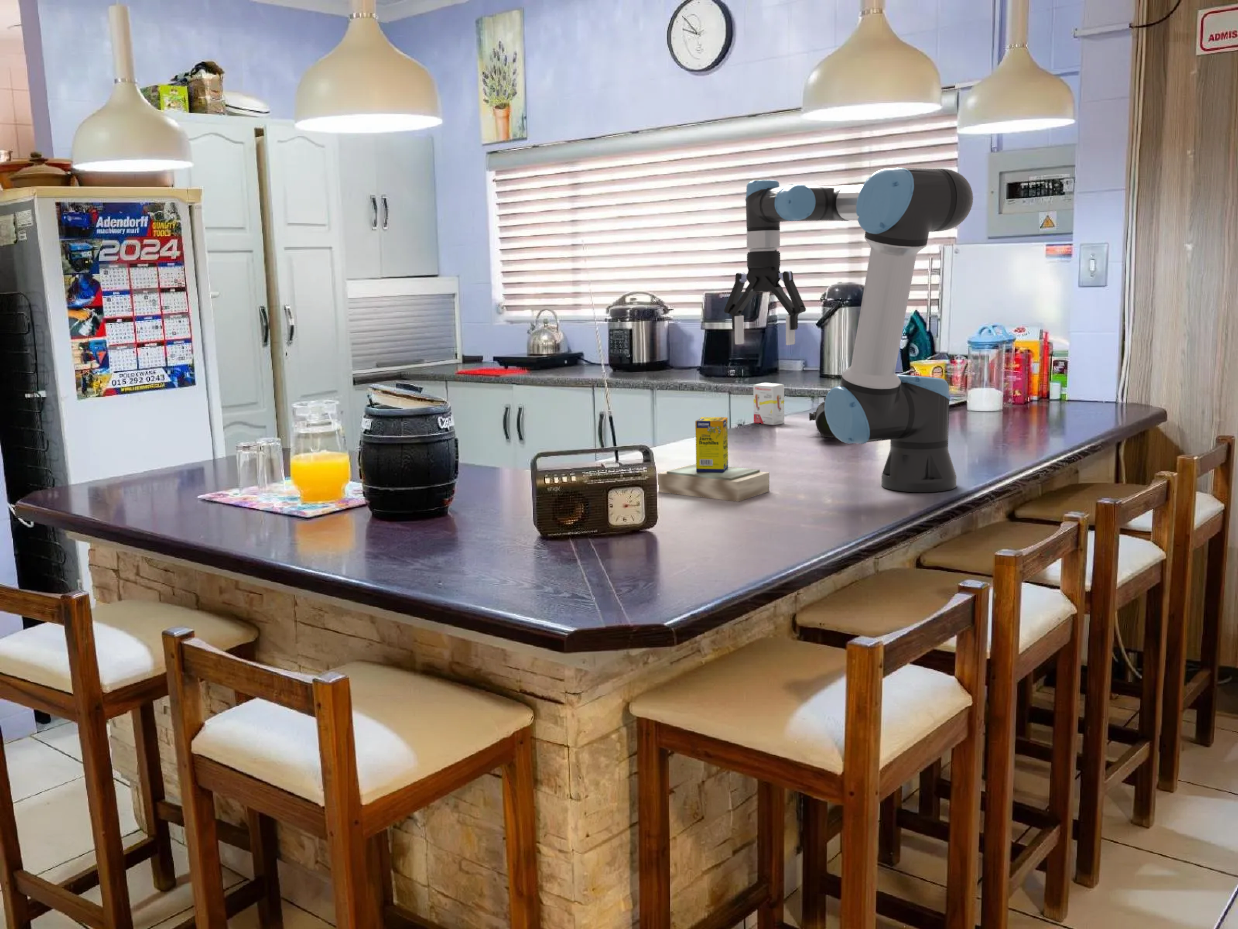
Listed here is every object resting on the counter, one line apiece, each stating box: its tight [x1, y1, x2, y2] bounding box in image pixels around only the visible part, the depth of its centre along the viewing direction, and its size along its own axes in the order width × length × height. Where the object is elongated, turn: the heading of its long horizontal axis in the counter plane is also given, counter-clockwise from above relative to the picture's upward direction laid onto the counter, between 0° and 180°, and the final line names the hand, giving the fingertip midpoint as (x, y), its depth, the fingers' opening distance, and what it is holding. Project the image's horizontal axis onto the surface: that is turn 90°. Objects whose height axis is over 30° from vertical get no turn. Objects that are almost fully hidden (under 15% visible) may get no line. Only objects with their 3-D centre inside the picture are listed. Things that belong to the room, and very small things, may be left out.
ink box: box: [752, 382, 785, 426], centre depth 334 cm, size 9×5×12 cm, turn 39°
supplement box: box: [695, 416, 729, 473], centre depth 233 cm, size 6×6×11 cm
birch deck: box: [657, 463, 770, 502], centre depth 234 cm, size 20×12×4 cm, turn 51°
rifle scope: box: [808, 396, 837, 439], centre depth 307 cm, size 10×26×10 cm, turn 172°
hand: (764, 344), depth 257 cm, fingers open, 13 cm apart
